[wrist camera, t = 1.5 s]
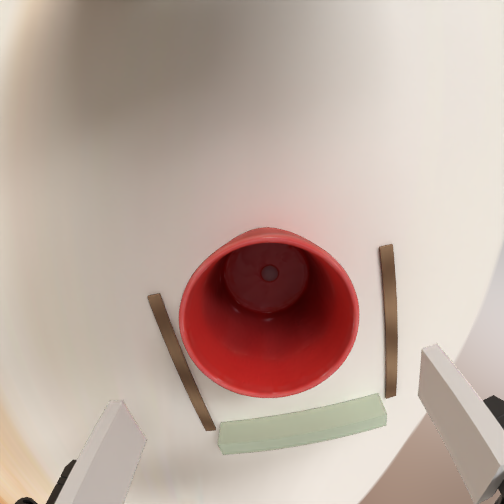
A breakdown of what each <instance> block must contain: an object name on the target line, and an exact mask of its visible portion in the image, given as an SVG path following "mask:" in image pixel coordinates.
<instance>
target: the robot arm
mask: <svg viewBox="0 0 504 504" xmlns="http://www.w3.org/2000/svg"><path fill="white" fill-rule="evenodd" d="M418 396H419V398H420V400H421V402H422V404H423V405H424V407H425V409H426V411H427V412H428V414H429V416H430V418H431V420H432V422H433V423H434V425H435V427H436V429H437V431H438V432H439V434H440V436H441V438H442V440H443V442H444V444H445V446H446V448H447V450H448V451H449V453H450V455H451V457H452V459H453V461H454V463H455V465H456V467H457V469H458V471H459V473H460V475H461V477H462V479H463V481H464V484H465V486H466V487H467V490H468V492H469V494H470V496H471V498H472V500H473V503H474V504H479V503H481V502H483V501H485V500H487V499H488V498H490V497H492V496H493V495H494V494H495V492H496V491H497V489H499V491H500V493H501V495H500V497H499V498H498V499H497V500H496V502H495V504H504V401H503V400H501V399H499V398H497V397H496V396H494V395H493V396H491V397H489V398H487V399H485V400H483V401H482V399H481V398H480V397H479V395H478V394H477V393H476V392H475V390H474V389H473V388H472V386H471V385H470V384H469V382H468V381H467V380H466V378H465V377H464V376H463V375H462V373H461V372H460V371H459V370H458V368H457V367H456V366H455V365H454V363H453V362H452V361H451V360H450V358H449V357H448V356H447V355H446V353H445V352H444V351H443V350H442V349H441V347H440V346H439V345H438V344H434V345H431V346H428V347H425V348H422V352H421V367H420V379H419V389H418ZM146 441H147V439H146V437H145V436H144V434H143V432H142V431H141V429H140V428H139V426H138V425H137V423H136V421H135V420H134V418H133V416H132V415H131V413H130V411H129V410H128V408H127V406H126V405H125V403H124V401H123V400H119V401H109V403H108V405H107V406H106V408H105V410H104V412H103V414H102V415H101V417H100V419H99V421H98V422H97V424H96V426H95V428H94V430H93V431H92V433H91V435H90V437H89V439H88V441H87V442H86V444H85V446H84V448H83V450H82V452H81V454H80V455H79V457H78V459H77V460H72V461H71V462H70V463H69V464H68V465H67V466H66V467H65V469H64V471H63V472H62V474H61V478H59V480H58V482H57V484H56V486H55V487H54V489H53V491H52V493H51V495H50V497H49V499H48V501H47V503H46V504H124V501H125V498H126V496H127V493H128V490H129V487H130V484H131V482H132V479H133V476H134V473H135V471H136V468H137V465H138V462H139V460H140V457H141V454H142V452H143V449H144V446H145V443H146ZM15 504H37V503H36V502H35V501H34V500H33V499H32V498H28V497H25V498H21V499H19V500H18V501H17V502H16V503H15Z"/></svg>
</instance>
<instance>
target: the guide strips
mask: <svg viewBox="0 0 504 504" xmlns="http://www.w3.org/2000/svg"><path fill="white" fill-rule="evenodd" d="M379 249H380V259H381V269H382V281H383V294H384V311H385V335H386V399H387V398H390V397H393V396H396V385H397V348H398V334H397V296H396V278H395V264H394V252H393V245H392V244H389V245H385V246H381V247H379ZM148 300H149V303H150V305H151V308H152V311H153V313H154V316H155V318H156V321H157V324H158V326H159V329H160V331H161V334H162V336H163V338H164V341H165V343H166V346H167V348H168V351H169V353H170V355H171V358H172V360H173V362H174V365H175V367H176V369H177V371H178V374H179V376H180V378H181V380H182V382H183V385H184V387H185V389H186V391H187V393H188V395H189V398H190V400H191V402H192V404H193V406H194V408H195V410H196V412H197V414H198V416H199V418H200V420H201V422H202V424H203V426H204V428H205V430H206V431H212V430H216V427H215V425H214V423H213V421H212V419H211V417H210V415H209V413H208V410H207V408H206V406H205V404H204V402H203V400H202V397H201V395H200V393H199V391H198V388H197V386H196V384H195V381H194V379H193V377H192V374H191V372H190V370H189V367H188V365H187V363H186V360H185V358H184V355H183V353H182V350H181V348H180V345H179V343H178V340H177V338H176V335H175V333H174V330H173V327H172V325H171V322H170V320H169V317H168V314H167V312H166V309H165V306H164V303H163V301H162V298H161V295H160V293H159V294H154V295H148Z"/></svg>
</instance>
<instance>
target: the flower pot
mask: <svg viewBox="0 0 504 504" xmlns="http://www.w3.org/2000/svg"><path fill="white" fill-rule="evenodd" d="M358 325H359V305H358V299H357V295H356V292H355V289H354V287H353V284H352V282H351V280H350V278H349V276H348V275H347V273H346V272H345V270H344V269H343V267H342V266H341V265H340V264H339V263H338V262H337V261H336V260H335V259H334V258H333V257H332V256H331V255H330V254H329V253H327V252H326V251H325V250H323V249H322V248H320V247H319V246H317V245H315V244H314V243H312V242H311V241H309V240H307V239H305V238H303V237H301V236H299V235H297V234H294V233H292V232H289V231H285V230H281V229H277V228H269V227H267V228H257V229H253V230H250V231H248V232H245V233H243V234H241V235H239V236H237V237H235V238H234V239H232V240H231V241H229V242H228V243H227V244H225V245H223V246H222V247H221V248H219V249H218V250H216V251H215V252H214V253H212V254H211V255H210V256H209V257H208V258H207V259H206V260H205V261H204V262H203V263H202V264H201V265H200V266H199V267H198V268H197V269H196V271H195V272H194V273H193V275H192V276H191V278H190V280H189V281H188V283H187V286H186V288H185V290H184V293H183V296H182V299H181V303H180V309H179V328H180V333H181V337H182V341H183V344H184V346H185V348H186V350H187V352H188V354H189V356H190V358H191V359H192V361H193V362H194V363H195V365H196V366H197V367H198V368H199V369H200V371H201V372H202V373H204V374H205V375H206V376H207V377H208V378H209V379H211V380H212V381H214V382H215V383H217V384H218V385H220V386H222V387H223V388H225V389H228V390H230V391H232V392H235V393H238V394H241V395H246V396H251V397H259V398H278V397H285V396H290V395H294V394H298V393H301V392H304V391H306V390H308V389H311V388H313V387H315V386H317V385H318V384H320V383H321V382H323V381H324V380H326V379H327V378H328V377H330V376H331V375H332V374H333V373H334V372H335V371H336V370H337V369H338V368H339V367H340V366H341V365H342V363H343V362H344V361H345V359H346V358H347V356H348V354H349V353H350V351H351V349H352V347H353V345H354V342H355V339H356V336H357V332H358Z"/></svg>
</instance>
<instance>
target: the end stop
mask: <svg viewBox="0 0 504 504" xmlns="http://www.w3.org/2000/svg"><path fill="white" fill-rule="evenodd" d="M386 422H387V413H386V410H385V408H384V406H383V403H382V401H381V398H380V396H379V394H378V393H377V394H373V395H370V396H366V397H362V398H358V399H354V400H350V401H346V402H342V403H338V404H334V405H329V406H325V407H320V408H315V409H310V410H305V411H300V412H294V413H288V414H283V415H276V416H270V417H263V418H256V419H248V420H240V421H230V422H221V425H220V432H219V439H218V446H219V448H220V450H221V452H222V454H223V455H228V454H240V453H251V452H260V451H268V450H276V449H283V448H289V447H295V446H301V445H307V444H312V443H317V442H322V441H327V440H332V439H336V438H341V437H345V436H349V435H353V434H357V433H361V432H365V431H369V430H372V429H376V428H379V427H383V426H386Z"/></svg>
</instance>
